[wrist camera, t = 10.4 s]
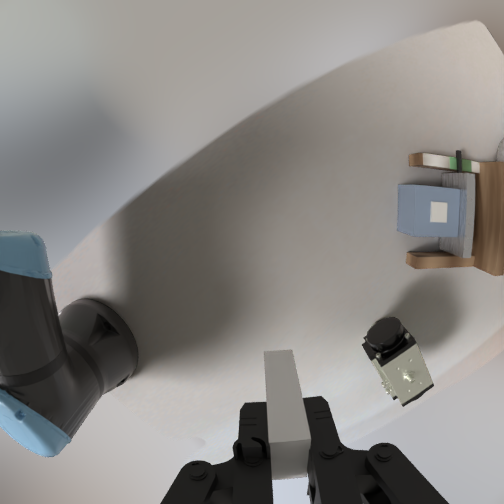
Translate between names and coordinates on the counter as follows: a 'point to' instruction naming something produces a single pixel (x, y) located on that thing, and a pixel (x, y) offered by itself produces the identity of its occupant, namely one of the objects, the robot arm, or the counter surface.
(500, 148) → the planter
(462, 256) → the grey flat panel
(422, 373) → the pneumatic valve
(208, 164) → the counter surface
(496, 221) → the gauge frame
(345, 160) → the counter surface
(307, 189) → the counter surface
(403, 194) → the blue block
